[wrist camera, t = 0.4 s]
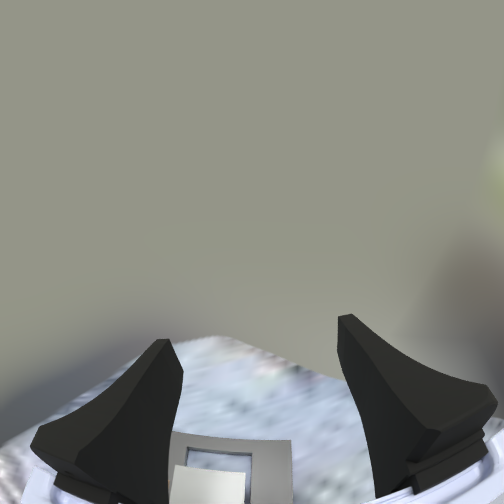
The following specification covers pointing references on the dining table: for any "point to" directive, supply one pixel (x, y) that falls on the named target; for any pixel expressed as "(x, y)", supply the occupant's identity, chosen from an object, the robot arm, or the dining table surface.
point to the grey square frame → (262, 470)
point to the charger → (206, 486)
